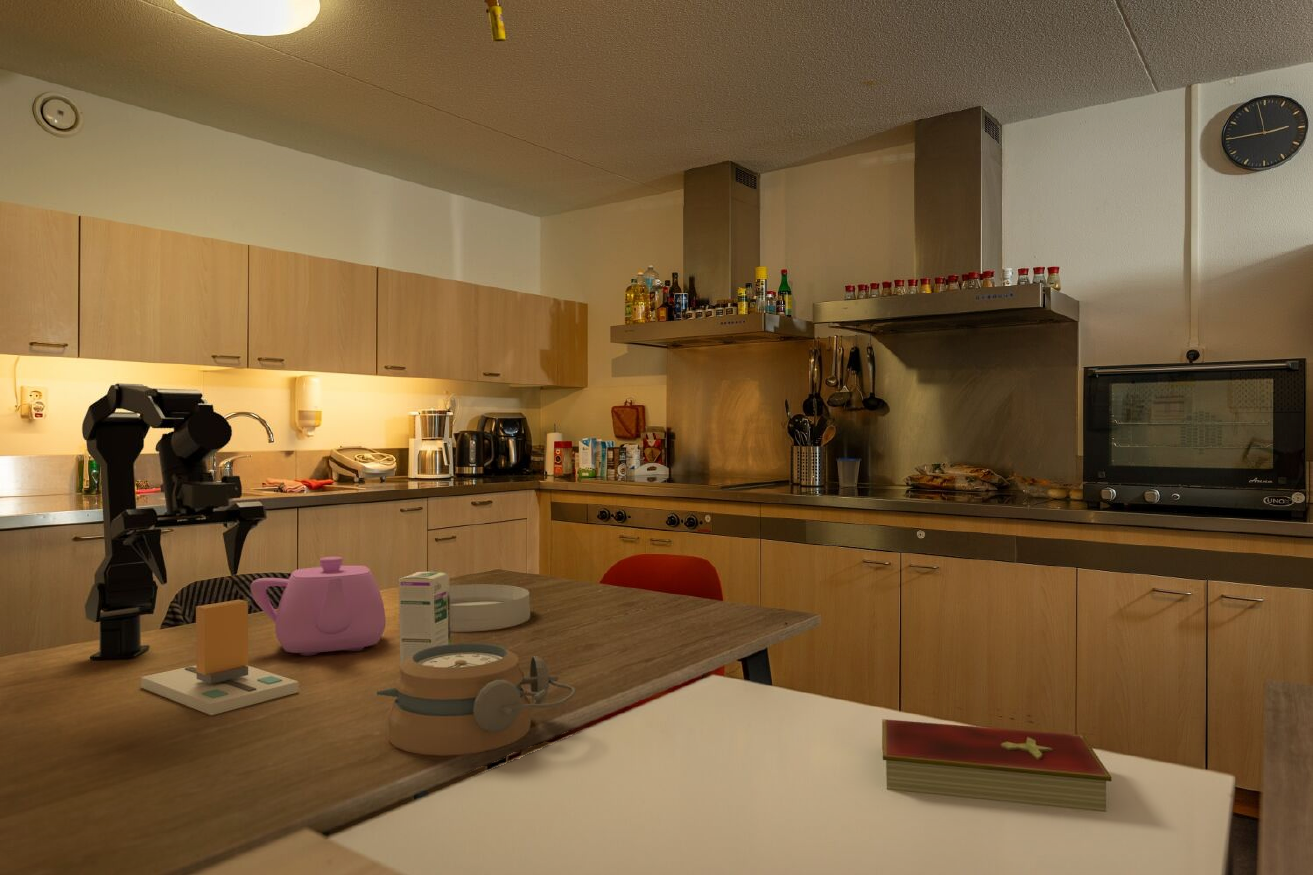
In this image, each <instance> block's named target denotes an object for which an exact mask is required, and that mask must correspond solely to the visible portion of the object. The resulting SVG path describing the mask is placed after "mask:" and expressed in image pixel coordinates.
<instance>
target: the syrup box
mask: <svg viewBox="0 0 1313 875" xmlns="http://www.w3.org/2000/svg"><path fill="white" fill-rule="evenodd" d="M449 586H450V573H449V572H443V571H434V570H433V571H416V572H415V573H411V574H409V575H407V576H404V577H400V578H399V579H398V612H399V613H398V620H399V621H398V623H399V624H398V625H399V628H398V629H399V666H400V665H401V664H402V662H403V661H405V660H406V659H408V658H409V657H411V656H412V655H414V654H416V653H417V652H419V651H422V650H424V649H427V648H431V647H436V646H441V645H448V644H451V631H450V593H449Z"/></svg>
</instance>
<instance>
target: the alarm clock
mask: <svg viewBox="0 0 1313 875" xmlns="http://www.w3.org/2000/svg"><path fill="white" fill-rule="evenodd" d="M529 666H530V667H529V677H525V675H524V672H523V671H522V669H521V667H520V657H518V656H517V654H515V653H514V652H511V651H510V650H508V649H507V648H504V647H502V646H500V645H497V644H496V645H495V644H489V643H479V642H467V643H466V642H462V643H461V642H460V643H450V644H448V645H441V646H436V647H431V648H427V649H424V650H422V651H419V652H417V653H416V654H414V655H412V656H411V657H409V658H408V659H406V660H405V661H403V662H402V664H401V665H400V664H399V675H398V677H397V678H396V680H395V682H394V687H392V688H386V689H382V690H378V691H376V695H377V696H384V697H395V699H394V702H393V704H392V706H391V708H390V709H389V710H388V713H387V716H386V718H387V721H386V722H387V723H386V724H387V726H386V727H387V738H388V742H389V743H390V744H392V745H393V747H394V748H397V749H399V750H402V751H405V752H408V753H413V754H418V755H419V754H420V755H424V756H425V755H427V756H439V757H440V756H441V757H442V756H461V755H462V756H463V755H469V754H476V753H477V754H479V753H483V752H487V751H492V750H495V749H500V748H502V747H505V746H508V745H510V744H513V743H515V742H517V741H519V740H520V739H522V738H523V737H525V736H526V735H527V734H528V732H529V731H530V730H531V723H532V722H531V720H532V718H531V717H532V716H531V715H532V710H531V709H532V708H534V709H539V708H541V709H544V708H553V707H558V706H561V705H562V704H565V703H567V702H568V701H570V700H571V699H572V698H573V697H574V696H575V694H576V692H577V691H576V688H575V687H574V686H572V685H570V684H563V683H558V681H559V680H560V677H559V675H549V671H548V667H547V665H546V663H545V661H544V659H543V658H542V657H540V656H537V655H535V656H533V655H532V656H531V658H530V665H529ZM522 685H530V691H527V690H526V691H525V690H524V689H523V688H522ZM550 685H552V686H554V687H557V688H562V689H567V690H569V691H571V693H570V694H568V695H567V696H566V697H565V698H562V699H560V700H559V701H558V700H557V701H555V702H551V703H549V702H548V703H544V701H545V700H546V699H547V696H548V692H549V686H550ZM527 696H528V697H530V696H531V698H532V702H533V703H531V701H530V699H529V698H528V697H527Z"/></svg>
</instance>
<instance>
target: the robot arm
mask: <svg viewBox="0 0 1313 875" xmlns="http://www.w3.org/2000/svg"><path fill="white" fill-rule="evenodd" d="M117 410H125V411H124V412H123V411H118V412H117ZM126 411H129V412H126ZM150 429H173V431H169V432H168V433H162V435H161V438H160V439H159V440H158V441H157V442H156V445H155V452H158V458H159V463H160V465H159V466H160V471H161V477H162V478H161V480H162V484H161V485H160V487H159V488H160V493H164V500H165V507H166V508H165V509H166V511H165V512H164V513H163V514H158V513H157V511H156V510H155V508H154V507H149V508H147V507H146V508H137V498H136V496H137V495H136V484H135V483H136V481H135V480H136V478H135V463H136V460H137V459H138V458H139V456H140V454H141V453H142V451H143V450H144V448H145V447H144V446H145V438H146V436H147V435H148V432H149V430H150ZM81 433H82V438H83V439H84V440H85V441H86V448H87V449H86V451H87V453H88V454H89V455H90V457H92V459H93V460H94V462H96V464H97V465H98V467H99V469H100V487H101V503H102V518H103V519H102V521H103V534H104V536H103V538H104V555H105V556H104V557H103V560H102V561H101V562H100V564H99V566H98V567H97V569H96V571H95V573H94V576H93V577H94V578H93V580H94V583H93V584H92V587H91V589H90V592H89V594H88V597H87V599H86V602H85V604H84V610H85V618H86V620H88V621H90V622H92V623H99V625H98V626H99V627H98V628H99V631H98V632H99V634H98V635H99V636H98V637H99V638H98V639H99V648H98V649H99V651H97V652H95V653H94V654H91V655H90V656H89V660H105V659H106V660H107V659H108V660H109V659H111V660H115V659H131V658H135V657H136V656H138V655H141V654H143V653H144V652H146V651H147V650H149V649H150V647H151V646H150V645H149V644H148V645H145V644H144V645H142V634H141V633H142V624H141V622H142V620H141V616H145V615H146V616H147V615H154V611H155V609H156V602H157V595H158V590H159V589H158V588H159V586H158V584H157V582H156V579H157V580H158V582H159V583H160V585H162V586H165V585H167V584H168V576H167V573H168V572H167V568H166V564H165V559H164V554H163V553H164V552H163V550H162V544H161V538H162V529H172V528H183V527H184V528H186V527H195V526H208V525H223V527H225V528H226V529H227V530H226V531H224V532H223V533H222V537H223V538H222V539H223V543H224V548H225V556H226V560H227V566H228V570H229V573H230V576H232V577H233V576H234V577H235V576H237V574H238V573H239V567H240V562H241V557H242V552H243V549H244V545H245V541H246V539H247V536H248V535H249V532H250V531H252V530H253V529H255V528H256V527H258V525H259V524H260V523H262V522H264V521H265V520H267V519H268V518H267V511H266V510H267V509H266V508H265V506H264V505H263V504H262V503H261V502H260V500H259V501H244V502H235V503H234V504H232V505H231V506H230V500H231V499H240V498H241V497H242V495H243V492H242V491H243V487H242V481H241V476H240V475H235V474H233V475H223V476H221V480H220V481H216V482H215V480H214V475H213V474H212V472H210V471H209V472H208V464H207V460H209V459H210V458H211V457H213V456H214V455H215V454H216V453H218V452H219V451H221V450H222V449H223V448H224V447H225V446H227V445H228V444H229V443H230V441H231V439H232V436H233V429H232V425H230V423H229V421H228V420H227V419H226V418H225V417H224V416H223V415H222V414H221V413H218V412H216V411H215V410H214V404H213V403H209V402H208V401H207V399H206V398H205V397H203V393H202V392H201V391H200V390H198V389H182V388H157V387H156V388H152V387H149V386H148V385H144V384H140V383H118V382H117V383H115V384H111V385H110V386H109V388H108V391H107V393H106V394H105V395H104V396H102V397H101V398H99V399H98V400H96V401H94V402H93V403H92V404H90V405H89V406H88V408H87V412H86V414H85V415H84V418H83V421H82V425H81ZM229 506H230V507H229ZM221 507H223V508H224V507H225V508H226V507H228V508H226V509H224V510H214V509H219V508H221ZM154 576H155V577H154ZM155 578H156V579H155Z"/></svg>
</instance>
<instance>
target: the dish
mask: <svg viewBox="0 0 1313 875" xmlns="http://www.w3.org/2000/svg"><path fill="white" fill-rule="evenodd" d="M449 593H450V632H457V633H458V632H459V633H460V632H462V633H465V632H481V631H492V630H499V629H504V628H510V627H515V626H517V625H520V624H523V623H525V622H527V621H528V620H530V618H531V605H530V591H529V590H528V589H527V588H523V587H520V586H515V585H509V584H508V585H507V584H493V583H491V584H490V583H486V584H485V583H483V584H482V583H477V584H474V583H473V584H459V585H458V584H457V585H449Z"/></svg>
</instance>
